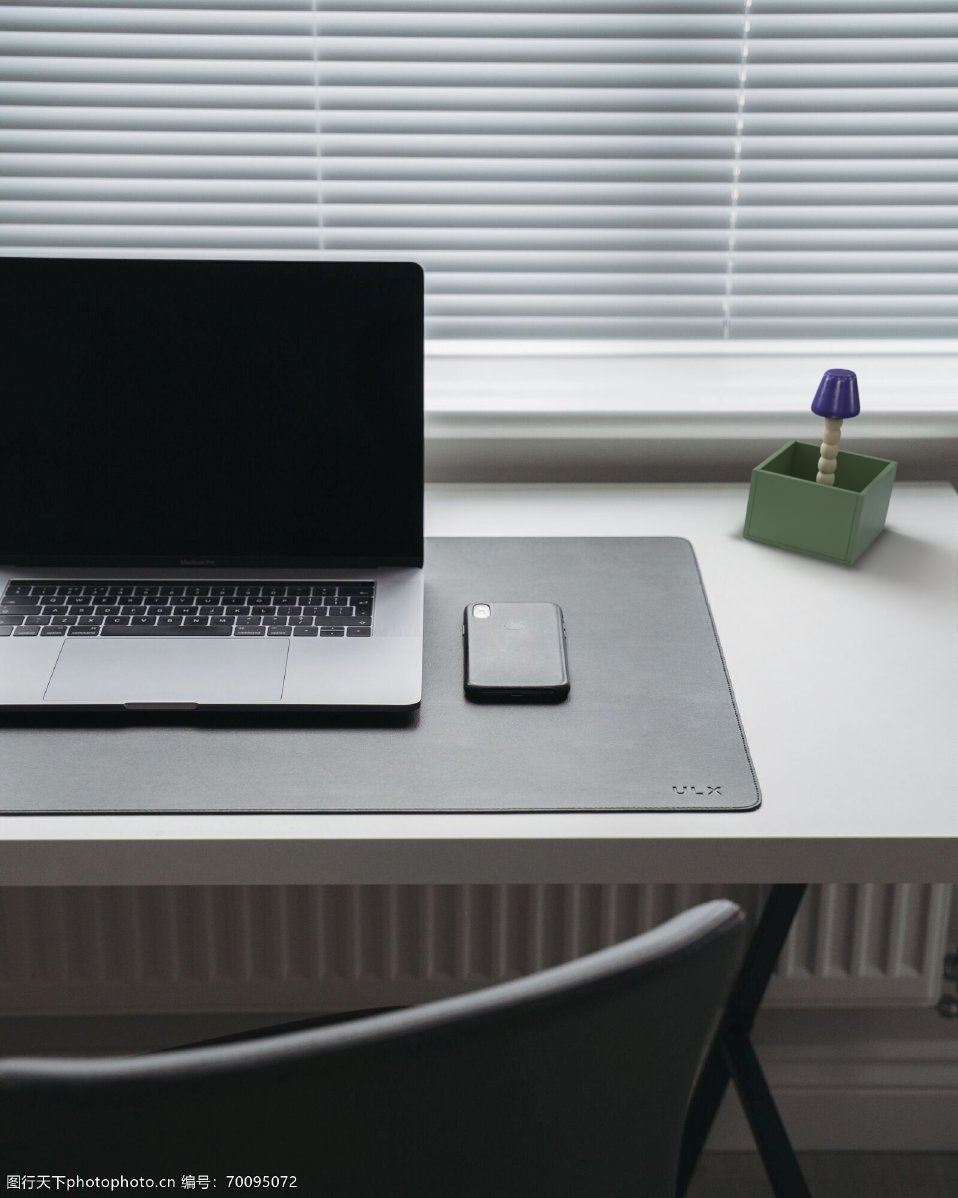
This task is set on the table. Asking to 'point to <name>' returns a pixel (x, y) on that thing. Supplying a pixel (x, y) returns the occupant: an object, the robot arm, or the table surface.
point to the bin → (819, 502)
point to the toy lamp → (834, 415)
